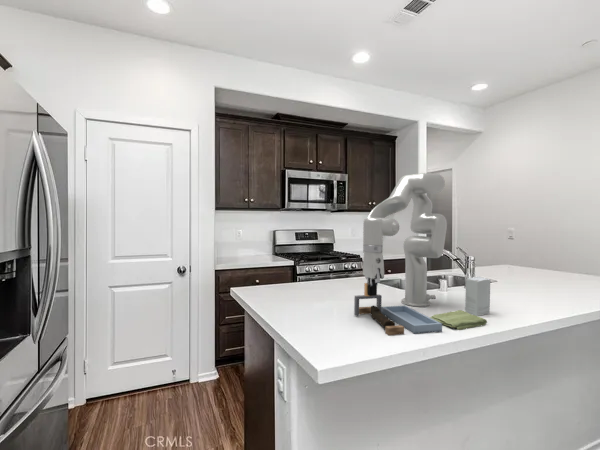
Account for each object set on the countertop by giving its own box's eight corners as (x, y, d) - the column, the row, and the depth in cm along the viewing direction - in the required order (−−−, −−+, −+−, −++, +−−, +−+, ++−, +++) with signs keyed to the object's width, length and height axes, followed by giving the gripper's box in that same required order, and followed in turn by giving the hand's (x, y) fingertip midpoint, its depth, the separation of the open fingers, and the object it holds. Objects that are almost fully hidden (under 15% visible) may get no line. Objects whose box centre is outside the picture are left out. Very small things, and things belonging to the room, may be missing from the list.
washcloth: (427, 321, 125) (427, 312, 125) (460, 316, 131) (460, 308, 131) (454, 332, 113) (455, 323, 112) (490, 326, 119) (490, 318, 119)
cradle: (370, 312, 134) (370, 306, 134) (404, 334, 109) (404, 327, 109) (357, 312, 133) (357, 307, 133) (388, 335, 108) (388, 328, 108)
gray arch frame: (379, 313, 132) (379, 282, 132) (381, 314, 130) (381, 283, 130) (354, 314, 130) (354, 283, 130) (356, 316, 128) (356, 284, 128)
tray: (404, 311, 135) (404, 305, 135) (442, 331, 112) (442, 323, 112) (381, 313, 133) (381, 306, 133) (414, 333, 109) (414, 325, 109)
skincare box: (477, 310, 139) (477, 276, 139) (490, 314, 134) (491, 278, 133) (464, 312, 135) (464, 277, 135) (477, 316, 130) (478, 280, 130)
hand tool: (395, 331, 112) (395, 318, 112) (384, 332, 112) (384, 318, 111) (378, 315, 131) (378, 304, 131) (368, 315, 130) (368, 304, 130)
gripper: (390, 251, 120) (390, 299, 120) (372, 247, 134) (372, 290, 135) (372, 251, 118) (371, 300, 118) (356, 247, 133) (355, 291, 133)
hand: (372, 295), depth 127 cm, fingers closed
